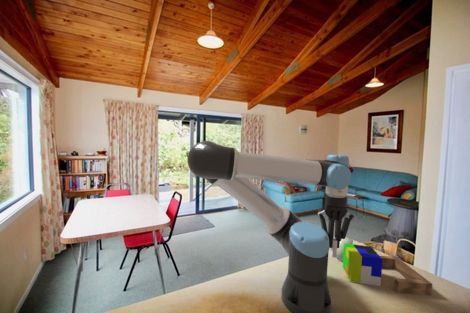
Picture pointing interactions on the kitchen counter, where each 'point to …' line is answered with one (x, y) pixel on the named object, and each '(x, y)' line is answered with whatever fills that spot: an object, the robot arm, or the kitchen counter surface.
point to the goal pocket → (407, 277)
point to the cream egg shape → (342, 248)
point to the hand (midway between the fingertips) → (333, 255)
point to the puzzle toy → (362, 264)
